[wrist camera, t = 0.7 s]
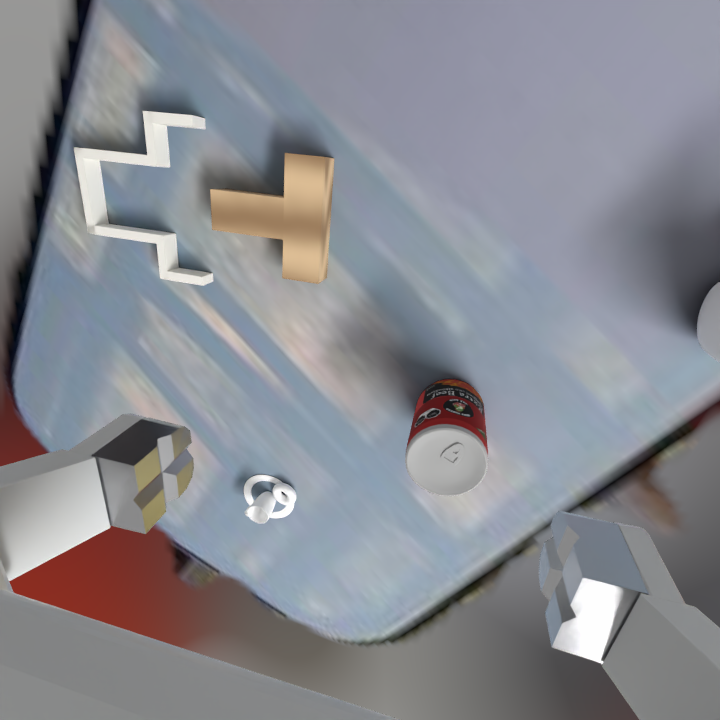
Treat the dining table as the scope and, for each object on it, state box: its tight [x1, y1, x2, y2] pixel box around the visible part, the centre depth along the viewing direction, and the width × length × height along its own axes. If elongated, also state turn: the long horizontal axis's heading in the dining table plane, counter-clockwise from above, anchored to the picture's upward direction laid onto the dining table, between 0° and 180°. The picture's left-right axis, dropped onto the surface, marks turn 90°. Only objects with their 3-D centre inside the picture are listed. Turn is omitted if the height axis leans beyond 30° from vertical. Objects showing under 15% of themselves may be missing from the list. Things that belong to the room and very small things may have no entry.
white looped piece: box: [244, 475, 296, 524], centre depth 60 cm, size 9×8×4 cm
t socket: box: [74, 111, 213, 286], centre depth 46 cm, size 17×14×2 cm
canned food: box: [405, 379, 488, 496], centre depth 44 cm, size 8×8×11 cm
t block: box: [210, 153, 334, 284], centre depth 43 cm, size 12×12×3 cm
